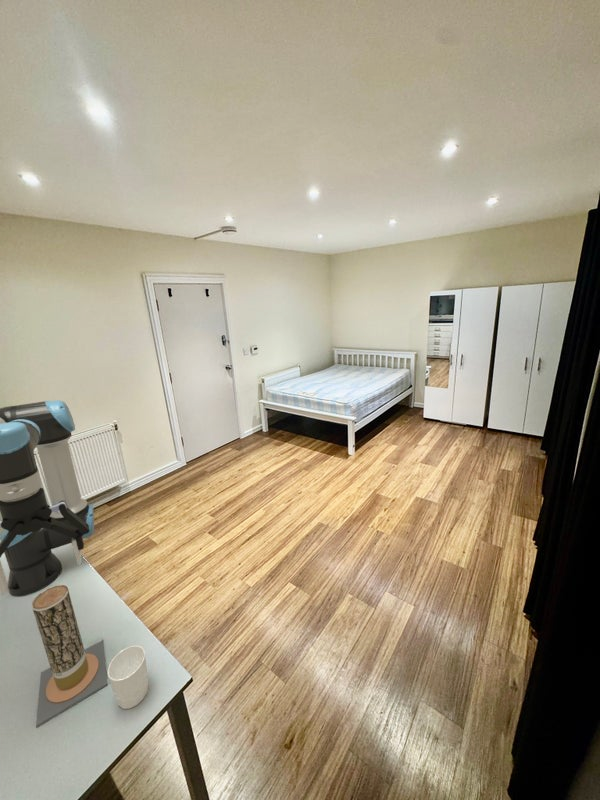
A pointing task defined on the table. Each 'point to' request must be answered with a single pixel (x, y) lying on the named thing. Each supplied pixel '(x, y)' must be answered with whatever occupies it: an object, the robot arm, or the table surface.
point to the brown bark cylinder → (60, 636)
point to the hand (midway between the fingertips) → (44, 575)
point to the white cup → (129, 676)
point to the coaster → (62, 699)
